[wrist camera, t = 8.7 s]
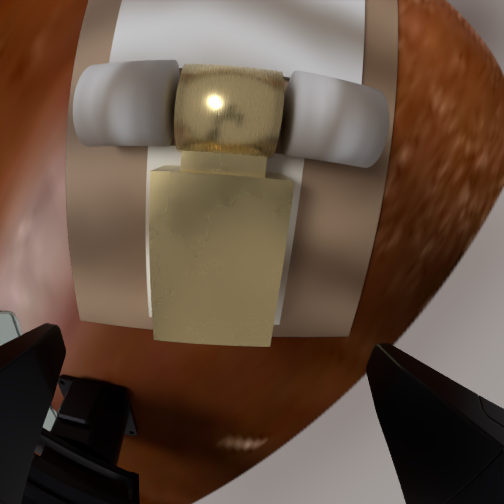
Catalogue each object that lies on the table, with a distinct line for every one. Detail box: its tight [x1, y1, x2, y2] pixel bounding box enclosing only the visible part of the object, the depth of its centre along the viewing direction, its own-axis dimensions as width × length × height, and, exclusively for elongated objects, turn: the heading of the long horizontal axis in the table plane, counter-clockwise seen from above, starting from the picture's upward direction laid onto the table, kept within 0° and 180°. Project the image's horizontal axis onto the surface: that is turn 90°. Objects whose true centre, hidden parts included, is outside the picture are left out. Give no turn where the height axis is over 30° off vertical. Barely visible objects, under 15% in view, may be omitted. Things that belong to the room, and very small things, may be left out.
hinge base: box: [65, 0, 398, 337], centre depth 13 cm, size 24×18×5 cm
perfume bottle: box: [149, 64, 295, 347], centre depth 14 cm, size 13×6×4 cm, turn 174°
